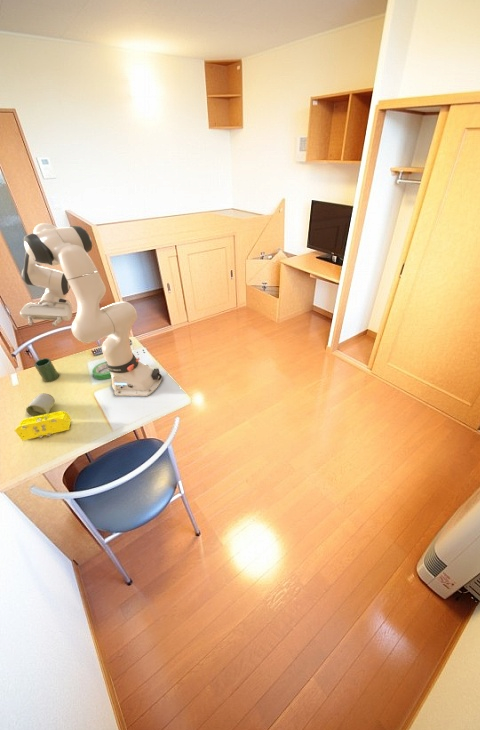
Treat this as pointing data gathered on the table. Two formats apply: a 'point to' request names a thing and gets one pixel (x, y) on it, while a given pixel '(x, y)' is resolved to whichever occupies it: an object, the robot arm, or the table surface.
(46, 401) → the ceramic mug
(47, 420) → the yellow toy chassis
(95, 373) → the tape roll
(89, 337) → the robot arm
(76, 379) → the table surface
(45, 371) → the green cup
